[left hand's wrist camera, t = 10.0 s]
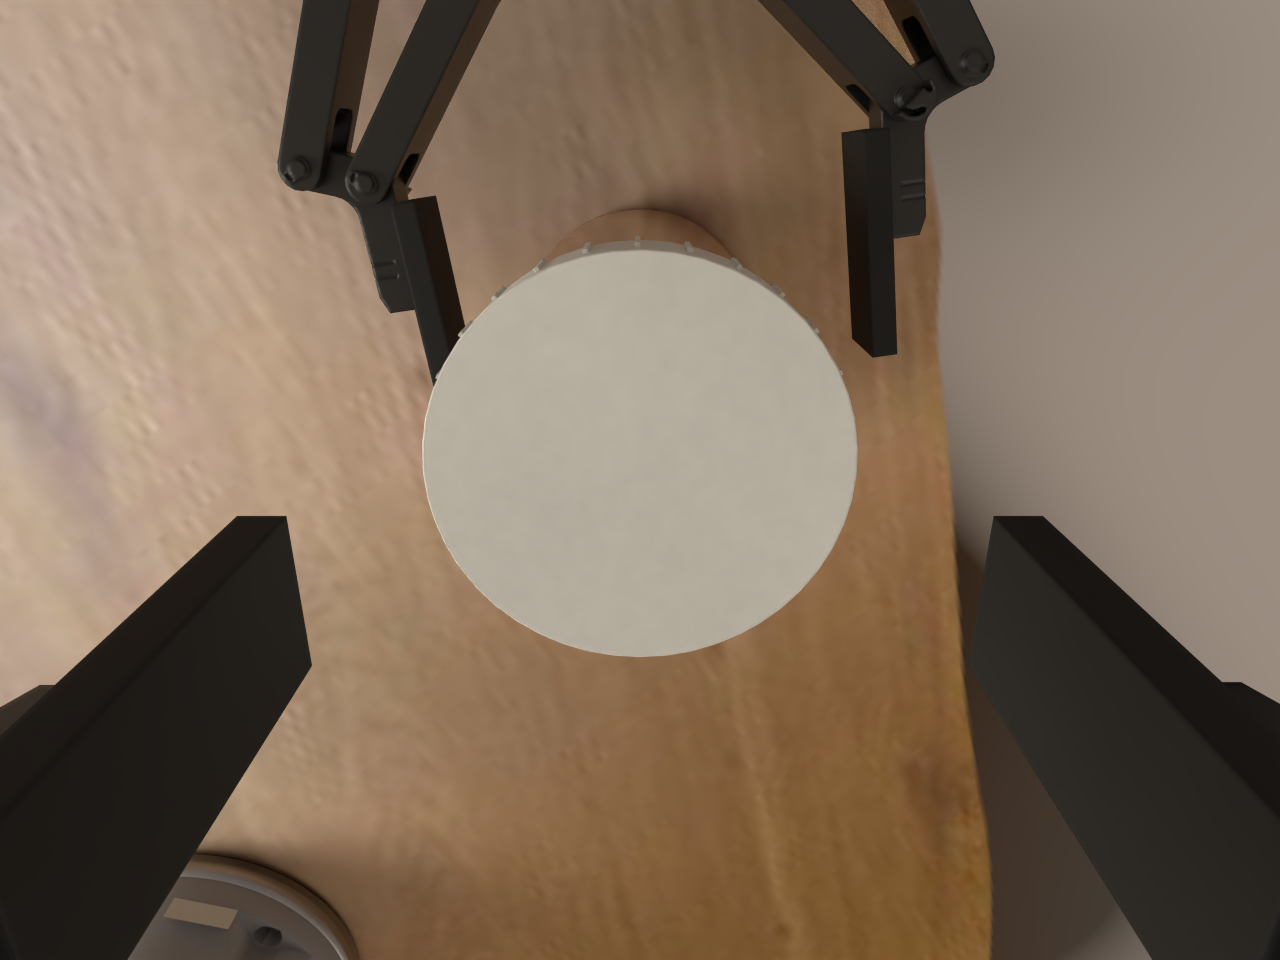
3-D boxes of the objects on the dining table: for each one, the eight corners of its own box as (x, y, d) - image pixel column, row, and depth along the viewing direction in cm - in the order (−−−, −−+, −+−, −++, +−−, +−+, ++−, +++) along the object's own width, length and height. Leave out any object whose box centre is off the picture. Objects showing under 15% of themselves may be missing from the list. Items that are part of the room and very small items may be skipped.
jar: (742, 194, 31) (829, 238, 17) (759, 418, 34) (843, 614, 20) (510, 224, 32) (402, 292, 17) (547, 442, 35) (483, 652, 20)
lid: (834, 210, 18) (854, 216, 16) (848, 600, 21) (866, 637, 20) (395, 266, 18) (372, 278, 17) (479, 639, 22) (467, 679, 20)
